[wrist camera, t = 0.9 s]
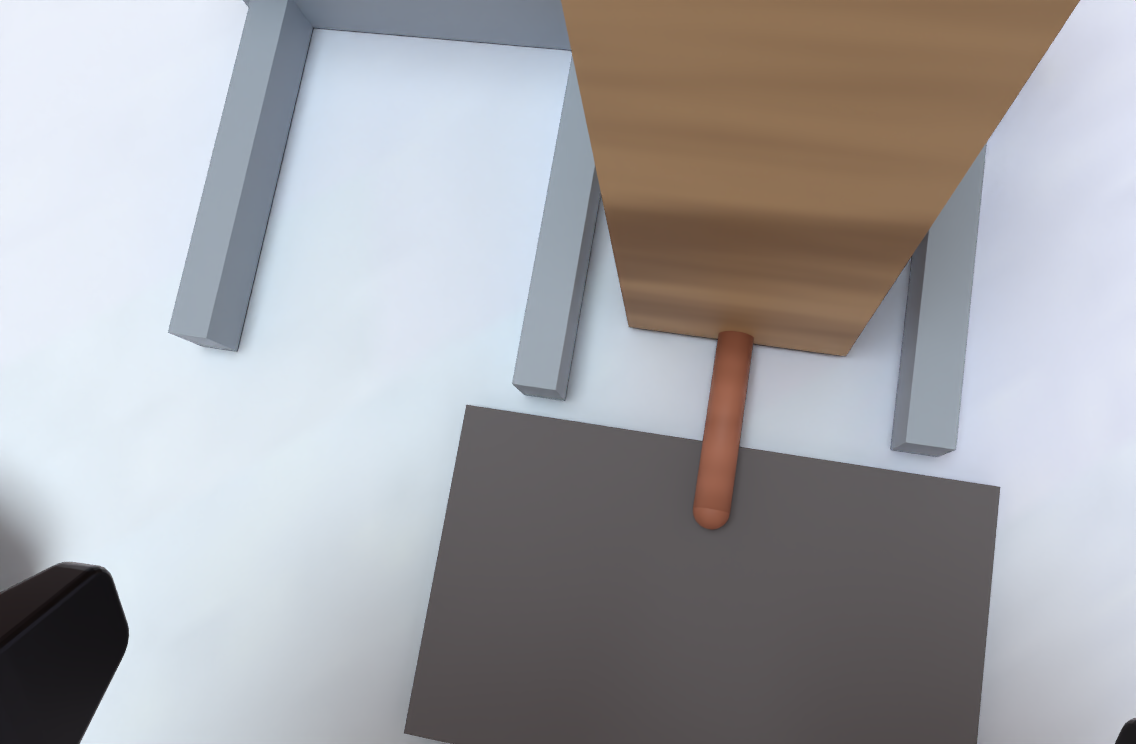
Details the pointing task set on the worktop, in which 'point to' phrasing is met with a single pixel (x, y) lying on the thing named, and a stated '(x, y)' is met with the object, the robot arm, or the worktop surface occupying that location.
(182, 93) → the worktop surface
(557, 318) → the lane rack
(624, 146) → the oak block
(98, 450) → the worktop surface
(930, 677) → the mat
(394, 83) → the worktop surface
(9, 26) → the worktop surface
